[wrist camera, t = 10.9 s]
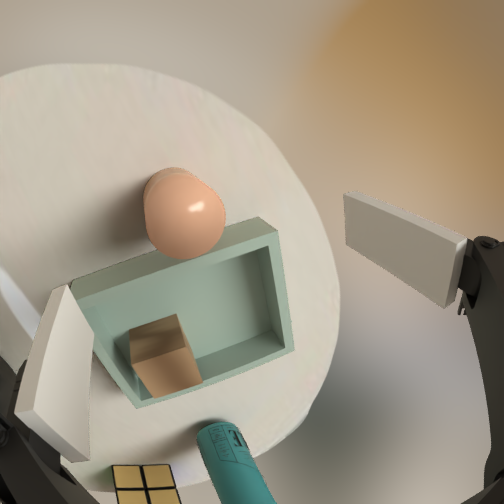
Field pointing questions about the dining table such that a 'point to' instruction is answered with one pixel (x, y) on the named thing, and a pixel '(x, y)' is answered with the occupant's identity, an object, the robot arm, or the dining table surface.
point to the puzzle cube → (145, 484)
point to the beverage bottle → (232, 465)
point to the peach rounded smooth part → (182, 214)
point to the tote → (194, 306)
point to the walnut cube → (163, 357)
